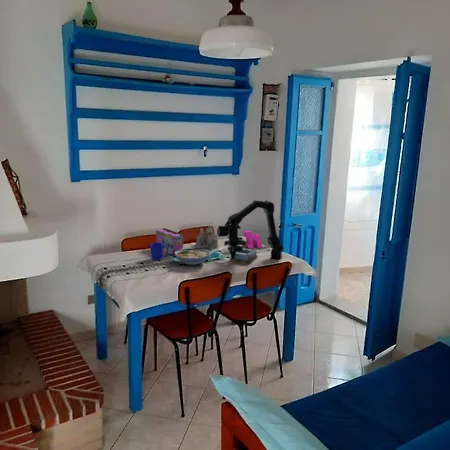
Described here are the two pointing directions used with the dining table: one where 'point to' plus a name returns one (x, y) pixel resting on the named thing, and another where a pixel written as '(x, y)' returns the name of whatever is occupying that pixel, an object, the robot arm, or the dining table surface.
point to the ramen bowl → (192, 255)
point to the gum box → (169, 240)
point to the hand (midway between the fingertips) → (233, 258)
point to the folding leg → (242, 256)
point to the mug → (157, 251)
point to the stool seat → (246, 251)
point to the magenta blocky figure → (252, 240)
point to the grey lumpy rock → (207, 239)
